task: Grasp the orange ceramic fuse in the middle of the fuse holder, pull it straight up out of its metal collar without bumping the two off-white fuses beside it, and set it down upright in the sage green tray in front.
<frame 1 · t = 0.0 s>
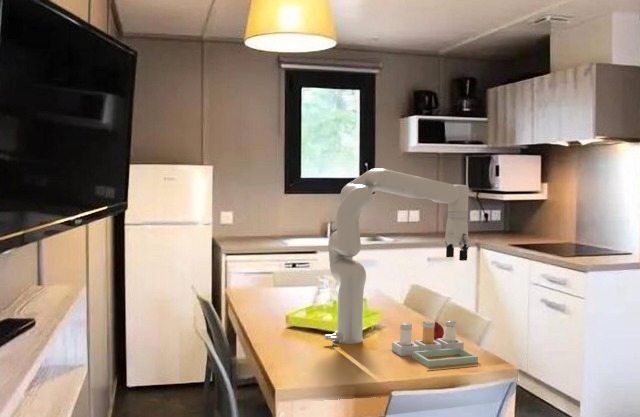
hand: (456, 258, 244), 31 cm above the table, tool pointing down, fingers open, 9 cm apart
marked fuse: (427, 350, 219), point 1 cm above the table, touching fuse holder
fuse holder: (427, 354, 219), on the table
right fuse: (449, 348, 222), point 1 cm above the table, touching fuse holder
tray: (444, 364, 208), on the table
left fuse: (405, 352, 216), point 1 cm above the table, touching fuse holder
onion: (435, 341, 237), on the table
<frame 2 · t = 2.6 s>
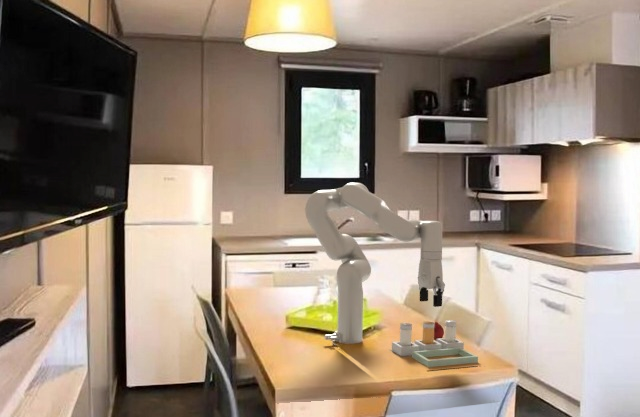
hand: (430, 303, 218), 18 cm above the table, tool pointing down, fingers open, 9 cm apart
nothing on the table moved.
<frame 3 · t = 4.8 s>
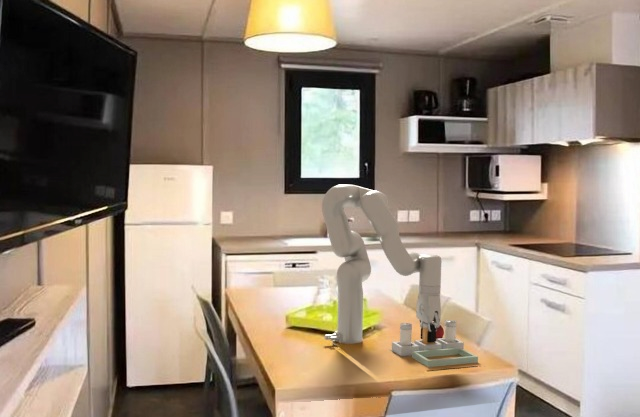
hand: (428, 340, 219), 5 cm above the table, tool pointing down, fingers closed on marked fuse, 4 cm apart
marked fuse: (427, 350, 219), point 2 cm above the table, touching fuse holder, gripper
everything else where it was.
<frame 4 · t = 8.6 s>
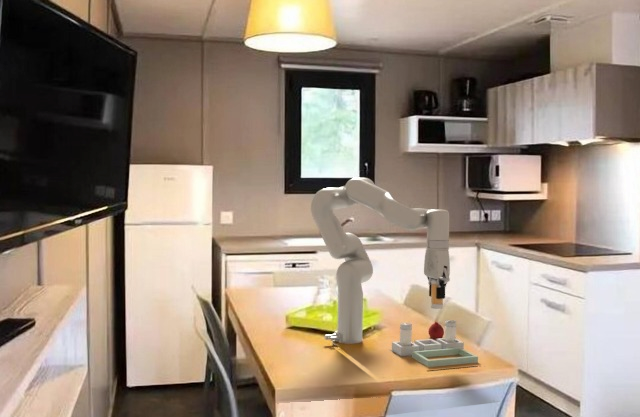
hand: (437, 296, 213), 22 cm above the table, tool pointing down, fingers closed on marked fuse, 4 cm apart
marked fuse: (436, 307, 214), point 18 cm above the table, touching gripper
everything else where it was.
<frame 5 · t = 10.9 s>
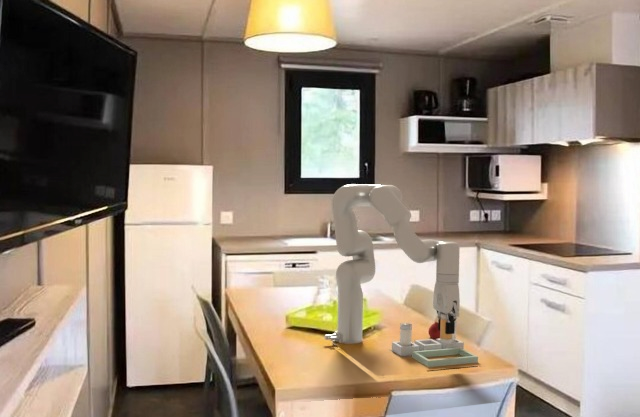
hand: (446, 331, 207), 11 cm above the table, tool pointing down, fingers closed on marked fuse, 4 cm apart
marked fuse: (446, 342, 207), point 7 cm above the table, touching gripper
everything else where it was.
when the fingers open (6 cm above the table, at t = 12.6 s): marked fuse drops 1 cm, resting on tray.
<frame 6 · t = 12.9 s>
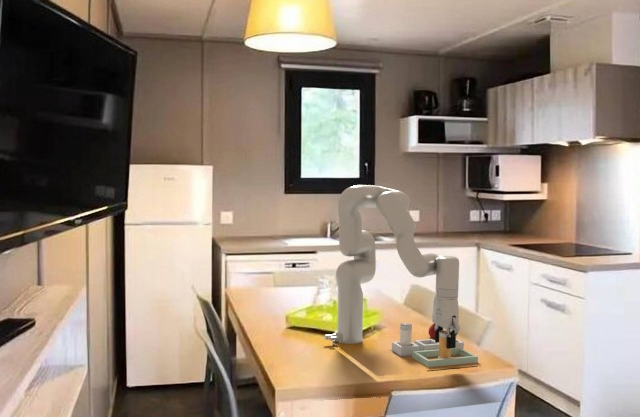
hand: (445, 344, 208), 7 cm above the table, tool pointing down, fingers open, 6 cm apart
marked fuse: (444, 361, 208), point 1 cm above the table, touching tray
everything else where it was.
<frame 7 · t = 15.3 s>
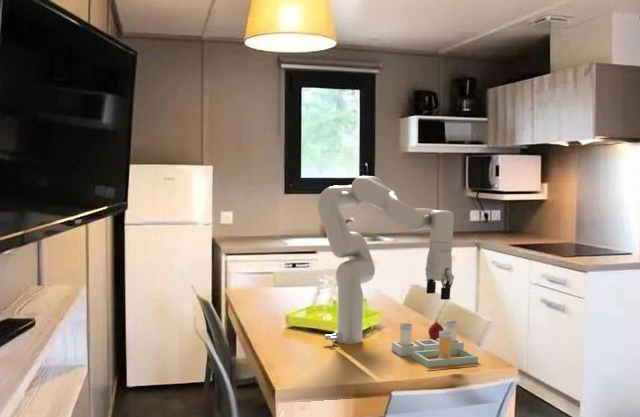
hand: (437, 296, 210), 23 cm above the table, tool pointing down, fingers open, 9 cm apart
nothing on the table moved.
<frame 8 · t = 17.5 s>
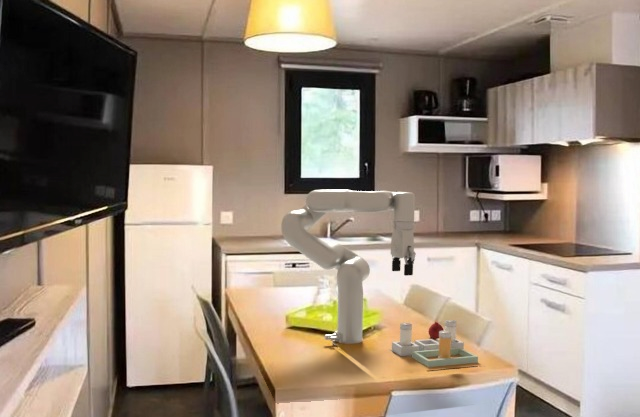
hand: (402, 273, 223), 28 cm above the table, tool pointing down, fingers open, 9 cm apart
nothing on the table moved.
at the end: marked fuse inside the target area on the tray (0.1 cm from its centre), point 1.0 cm above the tray's base; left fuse moved 0.1 cm from its start; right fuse moved 0.1 cm from its start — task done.
